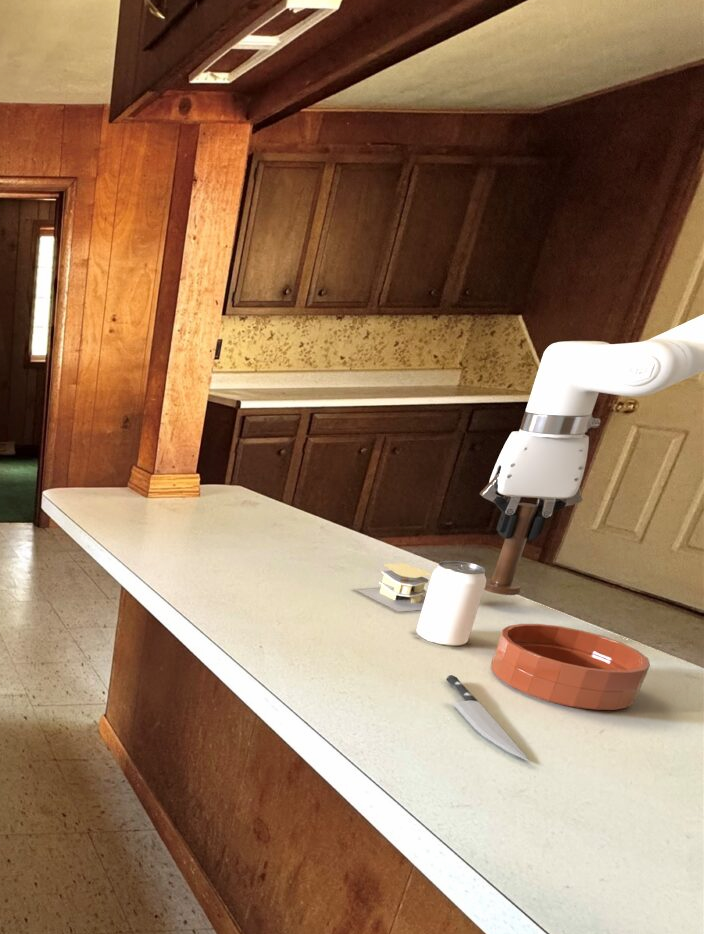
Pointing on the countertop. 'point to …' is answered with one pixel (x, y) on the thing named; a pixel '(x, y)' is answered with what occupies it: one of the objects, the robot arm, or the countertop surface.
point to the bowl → (569, 666)
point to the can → (451, 603)
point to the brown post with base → (512, 553)
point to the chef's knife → (483, 719)
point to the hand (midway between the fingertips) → (516, 536)
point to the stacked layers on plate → (400, 587)
